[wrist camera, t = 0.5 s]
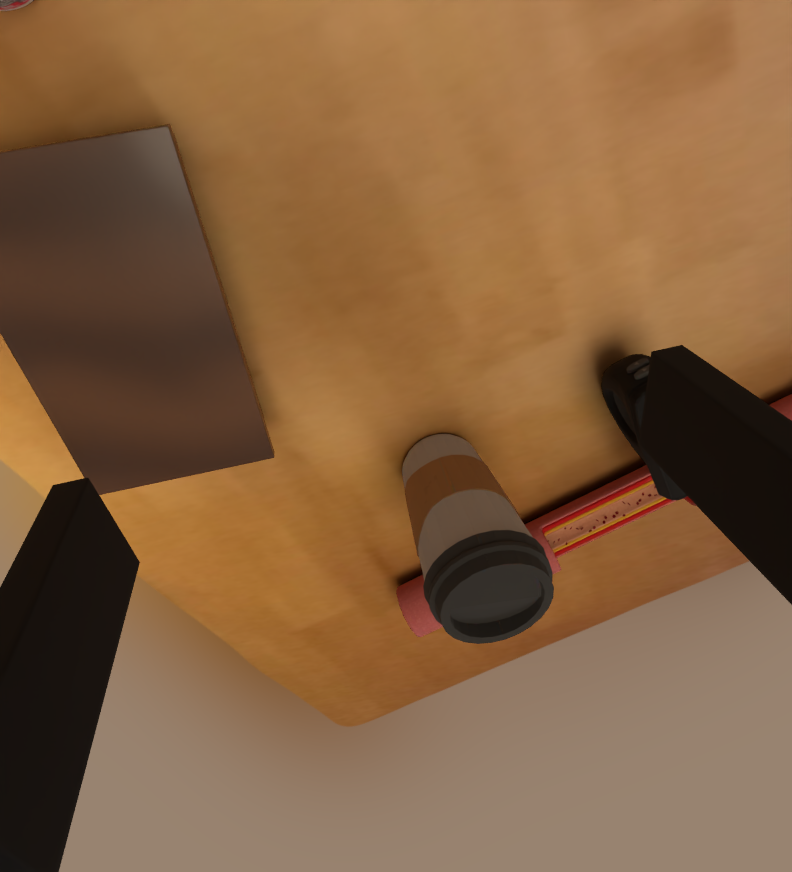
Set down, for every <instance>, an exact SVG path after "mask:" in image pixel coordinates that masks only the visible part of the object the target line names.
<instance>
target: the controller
mask: <svg viewBox="0 0 792 872" xmlns="http://www.w3.org/2000/svg"><path fill="white" fill-rule="evenodd" d="M650 359H651V357H649V356H646V355H643V354H635V355H630V356H628V357H626V358H624V359H622V360H620V361H618V362H616V363H615V364H613V365H611V366H610V367H609V368H608V369H607V370H606V371H605V372H604V374H603V376H602V383H601V387H602V392H603V396H604V398H605V401H606V403H607V406H608V408H609V410H610V412H611V414H612V416H613V418H614V420H615V421H616V423H617V425H618V426H619V428H620V430H621V431H622V433H623V434H624V436H625V437H626V439H627V440H628V441H629V443H630V444H631V446H632V447H633V448H634V450H635V451H636V452H637V453H638V455H639V456H640V457H641V458H642V459H643V461H644V462H645V463H646V465H647V467H648V469H649V472H650V474H651V477H652V479H653V482H654V484H655V487H656V489H657V492H658V494H659V495H660V496H663V497H665V498H667V499H670V500H680V499H683V498H685V497H687V495H686V494H685V493H684V492H683V491H682V490H681V489H680V488H679V487H678V486H677V485H676V483H675V482H674V481H673V480H672V479H671V478H670V477H669V476H668V475H667V474H666V473H665V472H664V471H663V470H662V469H661V468H660V467H659V466H658V465H657V464H656V463H655V462H654V461H653V459H652V458H651V457H650V456H649V455H648V454H647V453H646V452H645V451H644V450H643V449H642V448H641V447H640V446H639V437H640V430H641V423H642V416H643V409H644V402H645V395H646V388H647V381H648V374H649V367H650Z"/></svg>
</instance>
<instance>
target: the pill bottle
mask: <svg viewBox="0 0 792 872" xmlns="http://www.w3.org/2000/svg"><path fill="white" fill-rule="evenodd" d="M32 1H33V0H0V11H10V10H16V9H20V8H22V7H25V6H27V5H28V4H30V3H31V2H32Z"/></svg>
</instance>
